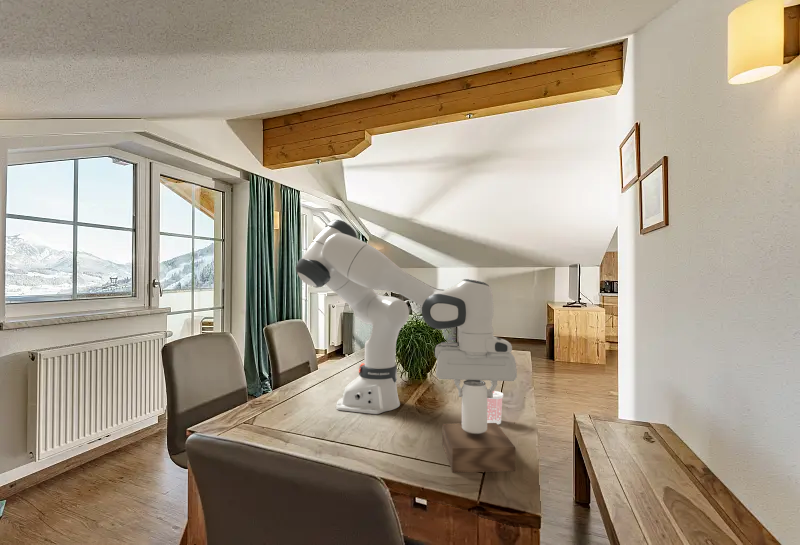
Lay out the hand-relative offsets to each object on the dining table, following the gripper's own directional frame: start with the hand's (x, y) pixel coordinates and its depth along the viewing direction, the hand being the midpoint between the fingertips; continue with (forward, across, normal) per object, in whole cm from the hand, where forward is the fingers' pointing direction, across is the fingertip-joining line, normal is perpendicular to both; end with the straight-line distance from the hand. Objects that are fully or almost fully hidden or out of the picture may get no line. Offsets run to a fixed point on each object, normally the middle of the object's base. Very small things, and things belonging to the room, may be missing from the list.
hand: (475, 396), depth 98 cm
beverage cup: (+15, +8, +24) cm, 30 cm away
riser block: (+16, 0, 0) cm, 16 cm away
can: (+8, 0, 0) cm, 9 cm away
